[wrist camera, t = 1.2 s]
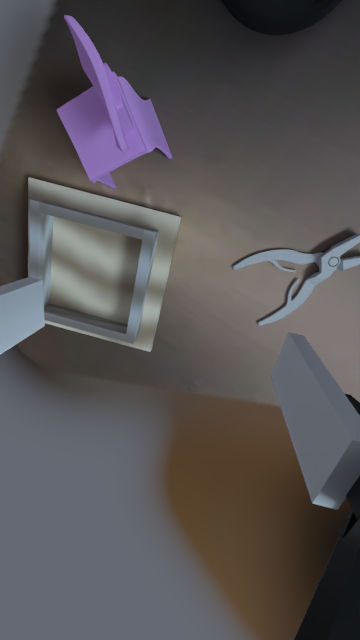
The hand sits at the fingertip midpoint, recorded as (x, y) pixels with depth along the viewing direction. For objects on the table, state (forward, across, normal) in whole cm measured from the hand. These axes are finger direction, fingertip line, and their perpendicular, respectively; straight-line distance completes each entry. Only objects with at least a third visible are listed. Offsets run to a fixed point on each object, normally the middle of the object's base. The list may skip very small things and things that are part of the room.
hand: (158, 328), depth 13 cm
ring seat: (+22, -13, -4) cm, 27 cm away
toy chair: (+23, -10, +11) cm, 28 cm away
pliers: (+24, +14, +1) cm, 28 cm away
